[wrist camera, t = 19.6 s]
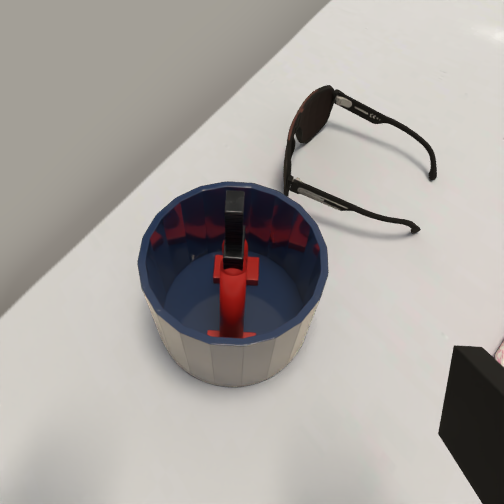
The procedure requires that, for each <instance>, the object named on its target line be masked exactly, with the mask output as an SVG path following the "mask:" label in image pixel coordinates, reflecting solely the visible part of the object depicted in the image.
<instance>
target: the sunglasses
mask: <svg viewBox="0 0 504 504" xmlns="http://www.w3.org/2000/svg"><path fill="white" fill-rule="evenodd" d="M334 103H335V104H337V105H339V106H341V107H343V108H345V109H347V110H348V111H350V112H352V113H354V114H356V115H358V116H360V117H362V118H364V119H366V120H368V121H370V122H372V123H374V124H381V123H388V124H391V125H393V126H395V127H397V128H399V129H401V130H402V131H404V132H406V133H407V134H409V135H410V136H412V137H413V138H414V139H416V140H417V141H418V142H419V143H421V144H422V145H423V146H424V147H425V148H426V150H427V151H428V153H429V156H430V161H431V169H430V172H429V179H430V180H435V179H436V177H437V168H436V159H435V154H434V152H433V150H432V148H431V146H430V145H429V144H428V143H427V142H426V141H425V140H424V139H423V138H422V137H420V136H419V135H418V134H417V133H415V132H414V131H413V130H411V129H410V128H408V127H407V126H405V125H403V124H401V123H400V122H398V121H396V120H394V119H392V118H390V117H387V116H385V115H383V114H381V113H379V112H377V111H375V110H374V109H372V108H370V107H368V106H366V105H364V104H362V103H360V102H358V101H356V100H354V99H353V98H351V97H349V96H347V95H345V94H344V93H343V92H341V91H340V90H337V89H336V90H335V91H334V89H333V88H332V86H330V85H327V86H323V87H321V88H318V89H317V90H315V91H313V92H312V93H311V94H310V95H309V96H308V97H307V98H306V99H305V101H304V102H303V104H302V105H301V107H300V108H299V110H298V112H297V114H296V116H295V117H294V119H293V121H292V124H291V126H290V129H289V133H288V139H287V146H286V151H285V160H284V173H283V175H284V195H285V196H288V193H289V190H290V191H292V192H295V193H297V194H303V195H305V196H307V197H310V198H312V199H314V200H317V201H319V202H321V203H323V204H326V205H328V206H330V207H333V208H335V209H338V210H340V211H355V212H357V213H360V214H362V215H365V216H367V217H370V218H373V219H377V220H381V221H385V222H390V223H397V224H403V225H406V226H409V227H410V228H411V233H417V232H418V231H420V230H421V229H420V228H419V227H418V226H417V225H416V224H415V223H413V222H412V221H409V220H405V219H398V218H391V217H387V216H382V215H379V214H375V213H372V212H370V211H367V210H365V209H362V208H360V207H358V206H356V205H353V204H351V203H349V202H347V201H344V200H342V199H340V198H337V197H335V196H333V195H330V194H328V193H326V192H324V191H321V190H319V189H317V188H314V187H312V186H310V185H307V184H305V183H303V182H302V181H301V180H300V179H299V178H296V179H293V178H294V177H293V176H291V158H292V155H293V152H294V149H295V139H294V134H296V137H297V139H298V141H299V142H300V143H307V142H309V141H310V140H311V139H312V138H313V137H314V136H315V135H316V134H317V133H318V132H319V131H320V130H321V129H322V127H323V126H324V125H325V124H326V122H327V121H328V118H329V116H330V112H331V110H332V107H333V104H334ZM290 186H291V187H290Z"/></svg>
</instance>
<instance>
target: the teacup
mask: <svg viewBox="0 0 504 504" xmlns="http://www.w3.org/2000/svg"><path fill="white" fill-rule="evenodd" d="M495 359H496V360H497V361H498V362H499V363H500V364H501V365H502V366H503V367H504V341H503V343H502V344H501V346H500V348H499V349H498V351H497V352H496V354H495Z"/></svg>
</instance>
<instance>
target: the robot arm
mask: <svg viewBox="0 0 504 504" xmlns="http://www.w3.org/2000/svg"><path fill="white" fill-rule="evenodd" d="M438 434H439V436H440V437H441V439H442V440H443V442H444V444H445V445H446V447H447V448H448V450H449V451H450V453H451V455H452V456H453V458H454V459H455V461H456V462H457V464H458V466H459V467H460V469H461V470H462V472H463V474H464V475H465V477H466V478H467V480H468V481H469V483H470V485H471V486H472V488H473V489H474V491H475V493H476V494H477V496H478V497H479V499H480V500H481V502H482V504H504V367H503V366H502V365H501V364H500V363H499V362H498V361H497V360H496V359H495V358H493V357H492V356H491V355H490V354H489V353H488V352H487V351H486V350H485V349H483V348H482V347H472V346H454V348H453V354H452V359H451V365H450V371H449V376H448V382H447V387H446V393H445V399H444V404H443V410H442V416H441V421H440V427H439V432H438Z"/></svg>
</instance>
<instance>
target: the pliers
mask: <svg viewBox="0 0 504 504" xmlns="http://www.w3.org/2000/svg"><path fill="white" fill-rule="evenodd" d="M244 196H245V192H244V191H232V190H227V191H226V201H225V239H224V241H223V243H222V252H223V255H215V262H214V272H213V283H220V331H216V330H208V331H207V335H209V336H212V337H227V338H247V337H251V336H255V335H256V333H252V332H243V328H244V311H245V294H246V285H256V286H257V285H258V279H259V257H248V243H247V241H246V239H245V225H243V222H244Z"/></svg>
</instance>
